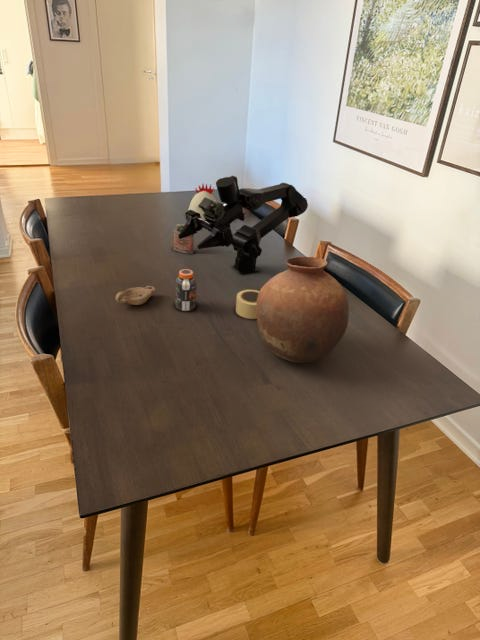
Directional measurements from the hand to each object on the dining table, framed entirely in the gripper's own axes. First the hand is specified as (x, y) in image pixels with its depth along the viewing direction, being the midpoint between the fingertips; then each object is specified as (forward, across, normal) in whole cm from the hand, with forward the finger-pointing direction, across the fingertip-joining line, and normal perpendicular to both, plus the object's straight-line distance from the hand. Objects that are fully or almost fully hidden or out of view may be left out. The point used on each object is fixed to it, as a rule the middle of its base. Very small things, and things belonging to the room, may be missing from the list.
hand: (188, 242), depth 133 cm
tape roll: (-1, +22, +17) cm, 28 cm away
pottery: (+3, +43, +16) cm, 46 cm away
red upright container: (-10, -25, +21) cm, 34 cm away
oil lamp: (+22, -2, +8) cm, 24 cm away
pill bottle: (+12, +8, +12) cm, 19 cm away
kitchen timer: (-38, -49, +32) cm, 70 cm away
